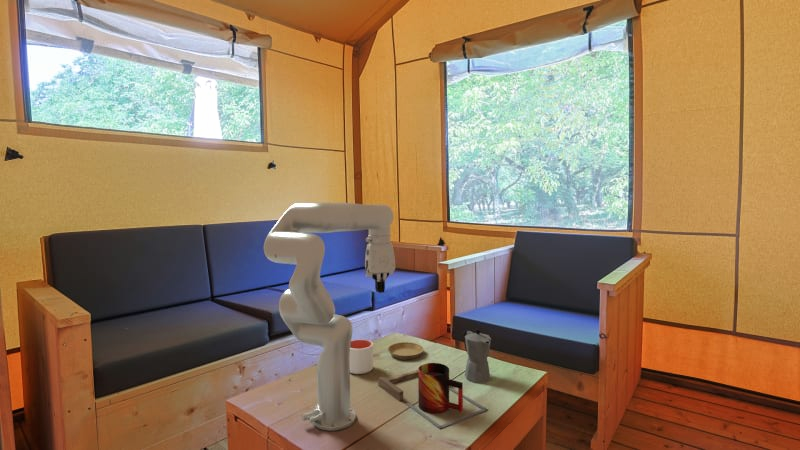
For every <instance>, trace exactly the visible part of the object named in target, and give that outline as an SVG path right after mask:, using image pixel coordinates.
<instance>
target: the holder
mask: <svg viewBox="0 0 800 450" xmlns="http://www.w3.org/2000/svg"><path fill="white" fill-rule="evenodd" d="M416 377H418V369H416V370H413V371H409V372H405V373H402V374H399V375H396V376H392V377H388V378H385V377H384V376H381V377H380V376H379V377H378V381H377V386H378V387H379V388H381V389H382V390H384V391H385V392H386V393H388V395H390V396H392V397H393V398H394V399H396V400H397V401H398V402H402V401H404V390H402V389H401V388H399V386H397V385H396V384H395V383H398V382H399V383H400V382H402V381H405V380H409V379H413V378H416Z"/></svg>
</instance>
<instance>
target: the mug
mask: <svg viewBox="0 0 800 450" xmlns="http://www.w3.org/2000/svg"><path fill="white" fill-rule="evenodd" d="M417 370H418V376H417V377H418V384H417V385H418V408H419V410H420V411H421V412H422V413H425V414H431V415H437V414H443V413H445V412H447V411H449V409H451V410H453V411H458V412H459V413H462V412H463V410H464V407H463V406H464V405H463V404H464V398H463V395H464V394H463V390H464V389H463V382H461V381H458V380H453V379H450V368H449V366H448V365H445V364H444V363H439V362H427V363H423V364H421V365H420V366H418V368H417ZM450 387H451V388H456V389H457V392H458V395H457V397H458V398H457V399H458V400H457V403H453V402H451V401H450V390H449V389H450Z"/></svg>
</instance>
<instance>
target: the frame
mask: <svg viewBox="0 0 800 450" xmlns="http://www.w3.org/2000/svg"><path fill="white" fill-rule="evenodd" d="M449 391H451V392H453V393H454V394H455V395H457V396H458V390H455V388H453V387H449ZM463 400H466V401H468V402H469V403H471V404H472V405H475V406H476V407H477V408H479V410H476V411H474V412H471V413H469V414H466V415H464V416H462V417H459V418H456V419H453V420H451V421H448V422H446V423H444V424H439V423H438V422H437V421H435V420H433V418H431V417H430V416H427V414H426V413H425V412H423V411H422V410H420V409H418V408H417V407H415V406H414V405H413V404H412V403H410V402H406V403H405V405H406V406H408V407H409V408H410V409H412V410H413V411H415V413H417V414H418V415H420V416H421V417H422V418H424V419H425V420H427V422H429V423H431V425H434V427H436V428H438V429H439V430H442V429H444V428H447V427H449V426H452V425H454V424H456V423H460V422H461V421H464V420H466V419H469V418H471V417H475V416H477V415H479V414H481V413H485V412H487V411H488V410H489V409H488V408H487V407H485V406H483V405H481V404H480V403H478V402H476V401H475V400H473V399H471V398H469V396H466V395H464V394H463Z"/></svg>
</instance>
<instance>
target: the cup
mask: <svg viewBox="0 0 800 450" xmlns="http://www.w3.org/2000/svg"><path fill="white" fill-rule="evenodd" d="M373 368H374V343H373V342H372V341H371V340H367V339H355V340H351V345H350V373H351V374H354V375H363V374H368V373H370V372H371V371H372V370H373Z"/></svg>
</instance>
